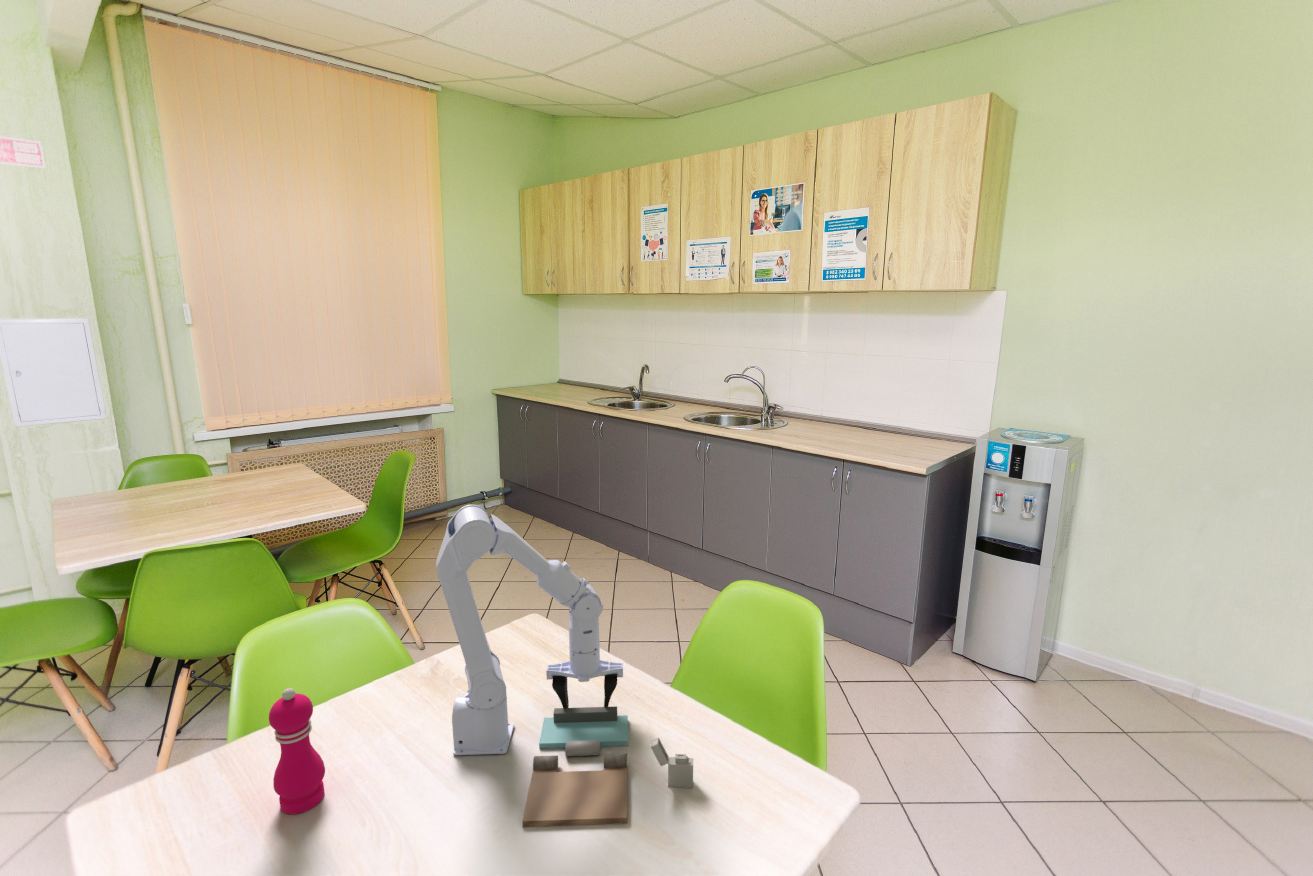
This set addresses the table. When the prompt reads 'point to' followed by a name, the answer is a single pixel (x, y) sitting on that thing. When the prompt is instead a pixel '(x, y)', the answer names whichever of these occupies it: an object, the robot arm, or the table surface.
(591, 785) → the fixed leaf
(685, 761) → the lighter
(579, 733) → the teal hinge plate
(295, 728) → the pepper mill
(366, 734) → the table surface
